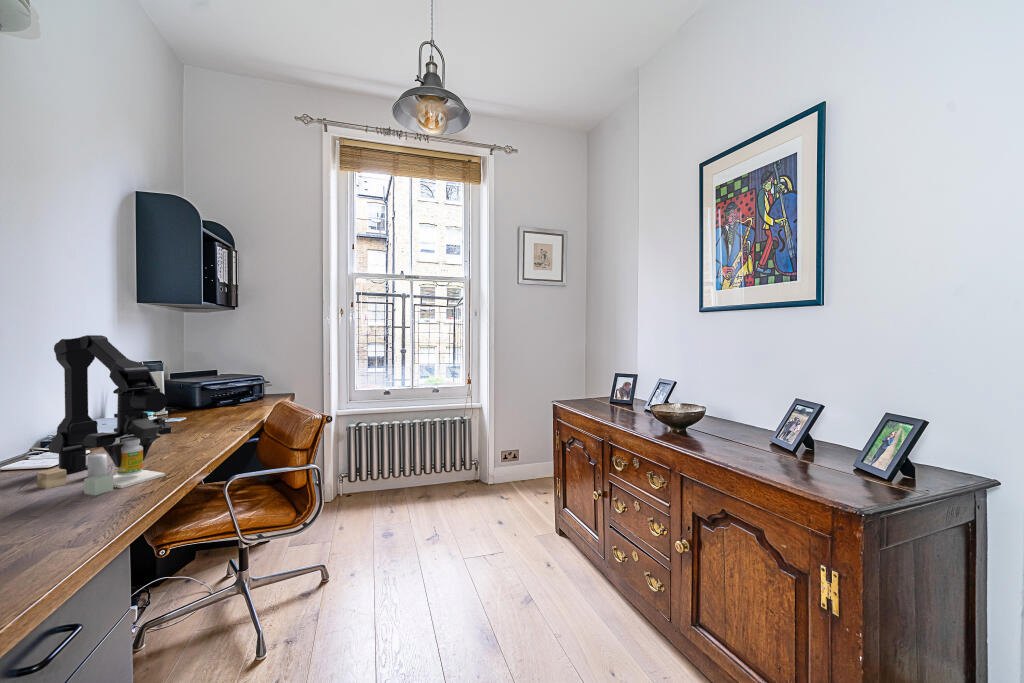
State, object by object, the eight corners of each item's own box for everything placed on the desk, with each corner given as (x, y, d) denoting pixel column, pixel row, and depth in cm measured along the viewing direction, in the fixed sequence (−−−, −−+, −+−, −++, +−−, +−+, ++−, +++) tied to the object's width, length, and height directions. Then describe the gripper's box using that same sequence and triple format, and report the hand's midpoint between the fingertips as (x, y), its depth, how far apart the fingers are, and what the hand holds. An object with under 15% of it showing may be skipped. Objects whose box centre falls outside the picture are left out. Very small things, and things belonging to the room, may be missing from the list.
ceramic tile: (93, 483, 117) (93, 480, 117) (138, 471, 127) (138, 469, 127) (121, 488, 114) (121, 485, 114) (164, 475, 124) (164, 473, 124)
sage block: (84, 493, 110) (84, 478, 110) (102, 488, 114) (103, 473, 114) (94, 495, 109) (94, 480, 109) (113, 490, 112) (113, 475, 112)
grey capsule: (84, 477, 122) (84, 456, 122) (101, 473, 125) (101, 453, 125) (93, 479, 121) (93, 458, 120) (110, 474, 124) (110, 454, 124)
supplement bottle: (127, 476, 117) (128, 442, 117) (112, 475, 118) (112, 440, 118) (147, 470, 123) (148, 437, 123) (132, 469, 124) (133, 436, 124)
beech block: (37, 487, 114) (37, 472, 114) (56, 482, 117) (57, 468, 117) (46, 489, 112) (47, 474, 112) (66, 484, 116) (66, 469, 116)
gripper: (111, 417, 109) (110, 477, 109) (185, 406, 127) (184, 458, 127) (82, 414, 112) (81, 472, 112) (158, 404, 130) (157, 454, 130)
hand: (130, 464), depth 121 cm, fingers closed on supplement bottle, 5 cm apart
